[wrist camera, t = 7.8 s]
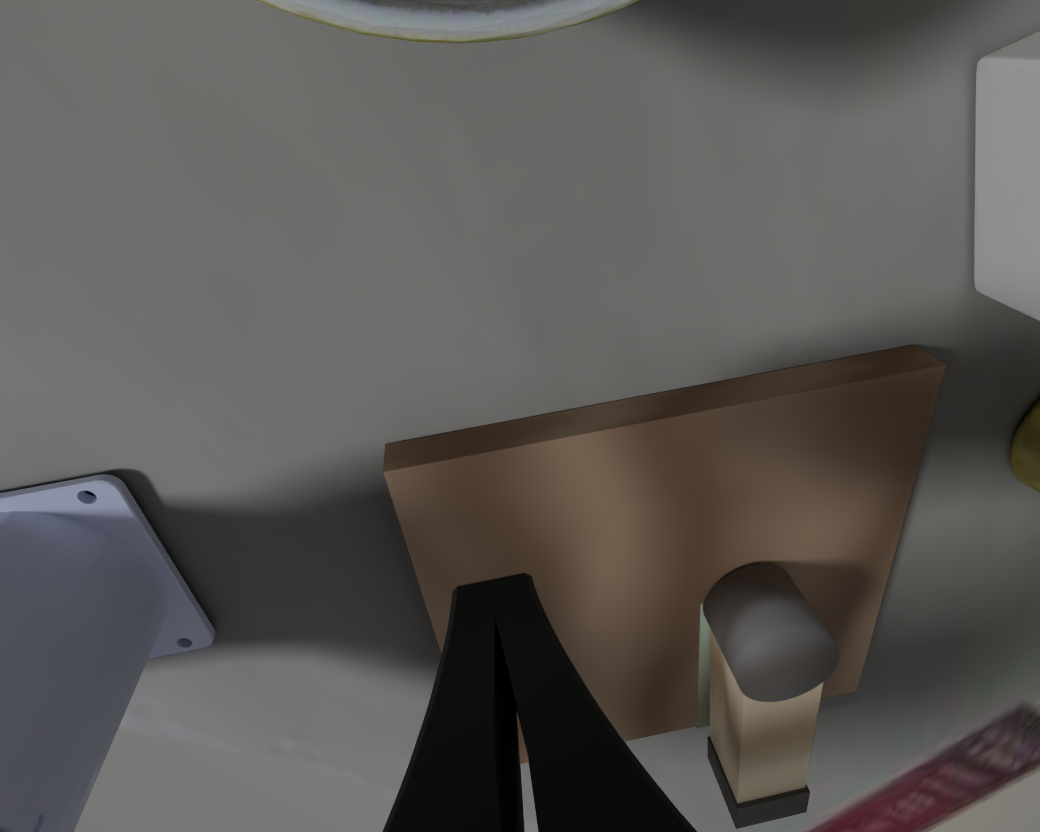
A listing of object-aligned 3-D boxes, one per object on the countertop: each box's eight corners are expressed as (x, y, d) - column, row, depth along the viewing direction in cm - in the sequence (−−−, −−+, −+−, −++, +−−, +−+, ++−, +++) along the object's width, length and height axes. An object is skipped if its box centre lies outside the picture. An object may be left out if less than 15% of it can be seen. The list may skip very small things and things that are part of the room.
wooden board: (476, 740, 30) (479, 774, 28) (385, 444, 20) (382, 474, 19) (838, 663, 30) (858, 693, 29) (915, 344, 21) (949, 366, 20)
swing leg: (702, 576, 23) (740, 649, 20) (796, 555, 23) (845, 624, 20) (703, 758, 30) (731, 830, 27) (775, 741, 30) (810, 811, 27)
